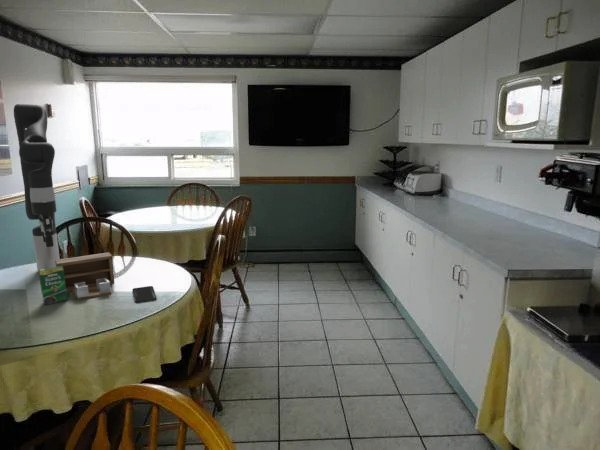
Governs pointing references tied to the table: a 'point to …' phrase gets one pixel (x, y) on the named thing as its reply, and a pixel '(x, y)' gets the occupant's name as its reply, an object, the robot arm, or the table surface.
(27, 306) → the table surface
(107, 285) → the grey open rectangular frame
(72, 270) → the walnut cabinet
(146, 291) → the phone
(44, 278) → the coffee box
